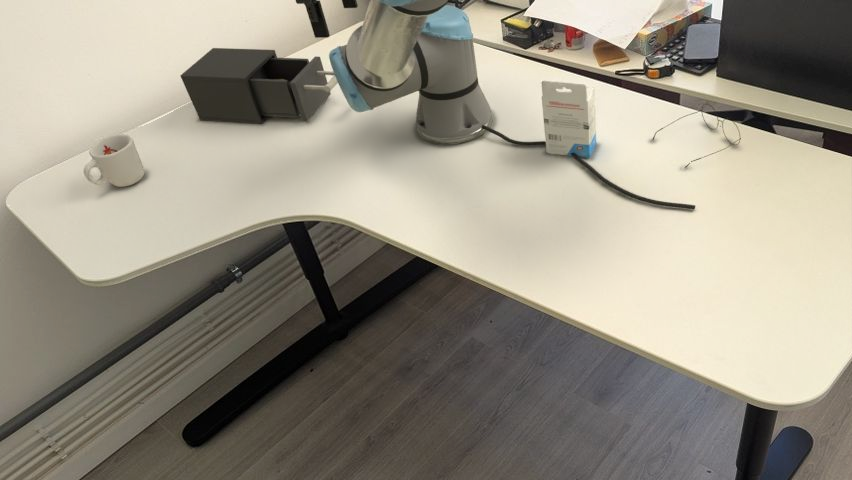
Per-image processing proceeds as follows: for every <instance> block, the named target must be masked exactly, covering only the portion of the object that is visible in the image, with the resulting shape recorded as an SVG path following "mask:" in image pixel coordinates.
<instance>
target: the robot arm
mask: <svg viewBox="0 0 852 480" xmlns="http://www.w3.org/2000/svg"><path fill="white" fill-rule="evenodd" d="M449 2H450V0H369V1H368V6H367V9H366V13H365V16H364V19H363V23H362V25H360V26H358V27H357V28H356V29H355V30H354V31H353V32H352V33H351V34H350V36H349V38H348V40H347V43H346V44H344V45H338V46H336V47H335V48H333V49H331V50H330V51H329V52H328V53H329V54H328V59H329V62H330V63H329V64H330V66H331V69H332V71H333V72H334V74H335V77H336V79H337V81H338V83H337V84H338V86H339V88H340V90H341V93H342V95H343V96H344V99H345V100H346V102H347V104H348V105H349V107H350V108H351V109H352V110H353V111H354V112H356V113H363V112H367V111H373V110H374V109H375V108H378V107H381V106H383V105H386V104H388V103H391V102H393V101H395V100H398V99H401V98H403V97H406V96H408V95H412V94H414V93H416V92H418V100H417V106H416V107H417V108H416V115H415V126H416V130H417V134H418V135H419V136H420V138H422V139H423V140H425V141H426V142H429V143H432V144H436V145H456V144H457V145H458V144H462V143H466V142H470V141H472V140H475V139H477V138H479V137H481V136H483V135H484V134H485V133H486V132H489V133H491V134H493V135H495V136H497V137H499V138H500V139H502V140H504V141H505V142H507V143H510V144H513V145H517V146H526V147H527V146H528V147H529V146H531V147H533V146H546V140H542V141H541V140H540V141H520V140H515V139H512V138H510V137H508V136H506V135H505V134H503V133H502V132H500V131H497V130H495V129H493V128H491V126H492V124H493V121H494V119H493V112H492V109H491V106H490V104H489V102H488V99H487V98H486V96H485V93H484V92H483V90H482V88H481V86H480V83H479V77H478V69H477V61H476V53H475V46H474V33H473V31H472V25H471V23H470V18H469V16H468V14H467V13H466V12H465V11H464V10H463V9H461V8H458V7H456V6H453V5H448V3H449ZM295 3H296V4H297V5H304V6H305V9H306V13H307V16H308V19H309V22H310V26H311V29H312V33H313V36H314V38H315V39H318V38H321V39H322V38H326V39H327V38H330V37H331V34H330V30H329V28H328V27H329V26H328V24H327V20H326V16H325V13H324V10H323V6H322V2H321V0H295ZM341 3H342V6H343V7H342V8H343V9H358V7H359V5H358V2H357V0H341ZM571 155H572V156H571V157H573V158H574V159H575V160H576V161H577V162H578V163H580V165H582V166H583V167H585V168H586V169H587V170H588V171H589V172H591V174H593V175H594V177H596V178H597V179H599V180H600V181H601V182H602V183H604V184H605V185H606V186H609V187H610V188H612V189H613V190H615V191H617V192H619V193H621V194H623V195H625V196H627V197H629V198H631V199H634V200H637V201H640V202H643V203H647V204H651V205H655V206H662V207H668V208H678V209H687V210H694V211H695V210H696V204H689V203H678V202H669V201H663V200H662V201H661V200H657V199H652V198H648V197H645V196H641V195H640V194H639V195H638V194H635V193H633V192H630V191H628V190H626V189H625V188H622V187H621V186H618V185H617V184H616V183H613V182H612V181H610V180H608V178H605V177H604V176H603V175H601V174H600V173H599V171H597V170H596V169H595V168H594V167H593V166H592V165H590V164H589V163H588V162H587V161H585V160H584V159H582V157H579V156H578V155H577V154H576V153H571Z"/></svg>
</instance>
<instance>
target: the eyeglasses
mask: <svg viewBox="0 0 852 480" xmlns="http://www.w3.org/2000/svg"><path fill="white" fill-rule="evenodd" d="M704 105H706V103H703V105H702V106H701V109H700V110H698V111H695V112H692V113H689V114H686V115H684V116H682V117H679V118H678V119H676V120H674V121H672V122H670V123H669V124H667V125H665V126H663V127H662V128H660V129H658V130H656V131H655V133H654V135H653V138H652V139H651V141H654V139H655V137H656V134H657V133H658V132H660V131H662V130H663V129H665V128H667V127H668V126H670V125H672V124H674V123H675V122H677V121H679V120H680V119H683V118H685V117H688V116H691V115H694V114H697V113H700V112H703V109H704V108H703V107H704ZM707 106H710V107H711V109H712V110H713V112H714V113H715V116H716V119H717V123H716V125H717V126H716V128H712V127H710V126H709V125H708V124H707V122H706V120H705V117H704V114H703V113H701V116H702V119H703V121H704V123H705V125H706V126H707V127H708V128H709V129H711V130H717V129H718V127H721V128H722V132H723V135H724V137H725V139H726V140H727V141H728V142H729V143H730V145H728V146H726V147H725V148H723V149H719V150H718V151H715V152H712V153H710V154H707V155H704V156H702V157H699V158H695V159H694V160H691V161H690V162H691V163H692V162H696V161H698V160H701V159H704V158H706V157H708V156H712V155H713V154H716V153H719V152H721V151H724V150H726V149H728V148H730V147H731V146H732V145H733V146H737V145H740V142H741V139H742V138H741V137H739V139H737V140H736V141H734V142H731V141H730V140H729V139H728V137H727V136H726V133H725V130H724V122H725V121H726V120H730V121H731V122H732V123H733V124H734V125H735V126H736V128H737V131H738V135H739V136H741V132H740V130H739V127H738V126H737V124H736V123H735V122H734V121H733V120H732V119H730V118H724V119H723V120H720V119H719V117H718V114H717V112H716V110H715V108H714V107H713V106H712V105H711V104H709V103H707ZM719 122H720V123H721V125H722V126H721V125H719V124H720V123H719ZM736 142H738V143H737V144H735V143H736ZM690 162H689V163H688V164H686V166H685V168H686V169H687V168H688V166H690V164H691V163H690Z"/></svg>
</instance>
